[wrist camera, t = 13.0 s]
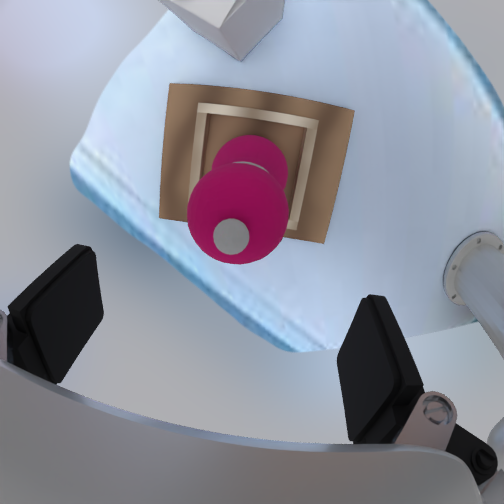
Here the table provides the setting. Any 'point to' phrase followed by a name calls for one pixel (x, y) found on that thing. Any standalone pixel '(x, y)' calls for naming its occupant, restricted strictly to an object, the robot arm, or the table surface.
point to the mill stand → (264, 125)
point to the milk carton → (229, 21)
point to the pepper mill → (241, 202)
